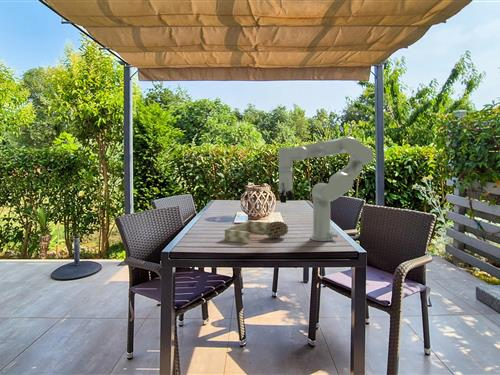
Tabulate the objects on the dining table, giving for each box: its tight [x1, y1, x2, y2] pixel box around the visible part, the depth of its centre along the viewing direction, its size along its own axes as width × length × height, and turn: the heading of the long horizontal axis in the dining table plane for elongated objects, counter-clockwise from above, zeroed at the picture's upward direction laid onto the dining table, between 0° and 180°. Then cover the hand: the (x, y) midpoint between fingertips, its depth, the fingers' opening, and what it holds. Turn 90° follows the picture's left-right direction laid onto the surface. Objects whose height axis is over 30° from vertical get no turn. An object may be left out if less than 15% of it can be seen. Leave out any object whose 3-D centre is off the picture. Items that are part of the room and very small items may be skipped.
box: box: [224, 220, 272, 244], centre depth 191 cm, size 16×28×6 cm, turn 152°
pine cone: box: [251, 220, 289, 240], centre depth 185 cm, size 22×10×10 cm, turn 94°
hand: (286, 201), depth 178 cm, fingers open, 9 cm apart
